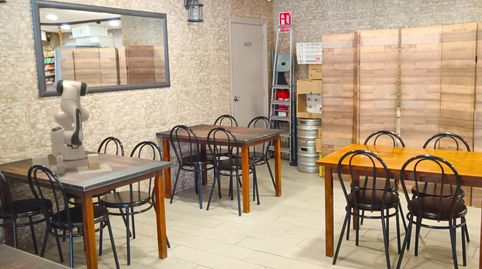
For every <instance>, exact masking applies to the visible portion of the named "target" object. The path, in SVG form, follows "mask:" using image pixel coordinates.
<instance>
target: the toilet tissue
mask: <svg viewBox="0 0 482 269" xmlns="http://www.w3.org/2000/svg"><path fill="white" fill-rule="evenodd" d="M31 161H32V167H33V166H34V165H42V166H45V167H47V168H49V169H50V161H49V155H46V154H39V155H35V156H32V158H31ZM32 170H33V169H32ZM32 172H34V170H33V171H32ZM36 173H42V171H41V170H37V172H36Z"/></svg>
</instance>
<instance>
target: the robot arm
mask: <svg viewBox="0 0 482 269" xmlns="http://www.w3.org/2000/svg"><path fill="white" fill-rule="evenodd" d="M55 90H56V93H57V94H59V95H61V97H60V106H59V107H60V109H61V110H58V111H56V112H55V114H54V116H53V118H54V121H55V123H56V124H57V125H59V126H60V127H59V126H56V127H53V128H52V129H51V130H50V143H51V154H52V155H53V157H54V158H55V161H56V164H57V165H56V166H58V167H59V172H62V167H64V168H65V165H64V160H67V161H76V160H77V161H78V160H81V159H83V160H84V159H86V158H87V155H88V154H86V150H85V149H86V148H85V146H84V145H83V141H84V134H83V122H87V121H88V120H89V118H90V114H89V111H88V110H87V109H85V108H84V107H83V106H82V104H81V97H85V96H86V95H87V93H88V91H89V87H88V85H87V83H86V82H85V81H84V82H83V81H78V80H69V79H68V80H66V79H65V80H64V79H60V80H58V81H57V82H56V84H55Z"/></svg>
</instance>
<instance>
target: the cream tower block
mask: <svg viewBox="0 0 482 269" xmlns="http://www.w3.org/2000/svg"><path fill="white" fill-rule="evenodd" d="M86 155H87V157H86V158H87V164H88V163H97V162H99V163H100V157H99V154H98V153H91V154H90V153H89V154H86Z"/></svg>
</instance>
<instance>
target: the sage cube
mask: <svg viewBox="0 0 482 269" xmlns="http://www.w3.org/2000/svg"><path fill="white" fill-rule="evenodd" d="M55 168H56V169H55V170H56V175H57V176H58V175H64V174H65V172H66V171H65V166H64V167H62V172H59V167H58V165H56V166H55Z"/></svg>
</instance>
